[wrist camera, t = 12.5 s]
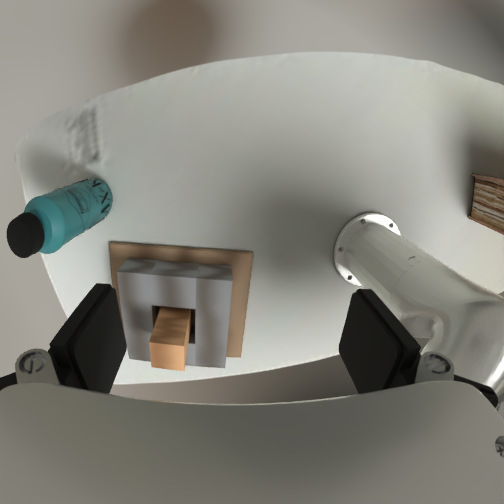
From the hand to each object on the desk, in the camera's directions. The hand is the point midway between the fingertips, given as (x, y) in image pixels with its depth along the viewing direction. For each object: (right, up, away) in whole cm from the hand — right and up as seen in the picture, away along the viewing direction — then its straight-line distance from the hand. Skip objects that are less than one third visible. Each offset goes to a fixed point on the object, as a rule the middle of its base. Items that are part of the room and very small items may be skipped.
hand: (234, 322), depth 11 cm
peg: (-11, -6, +34) cm, 36 cm away
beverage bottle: (-22, +11, +27) cm, 37 cm away
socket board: (-11, -6, +35) cm, 37 cm away
